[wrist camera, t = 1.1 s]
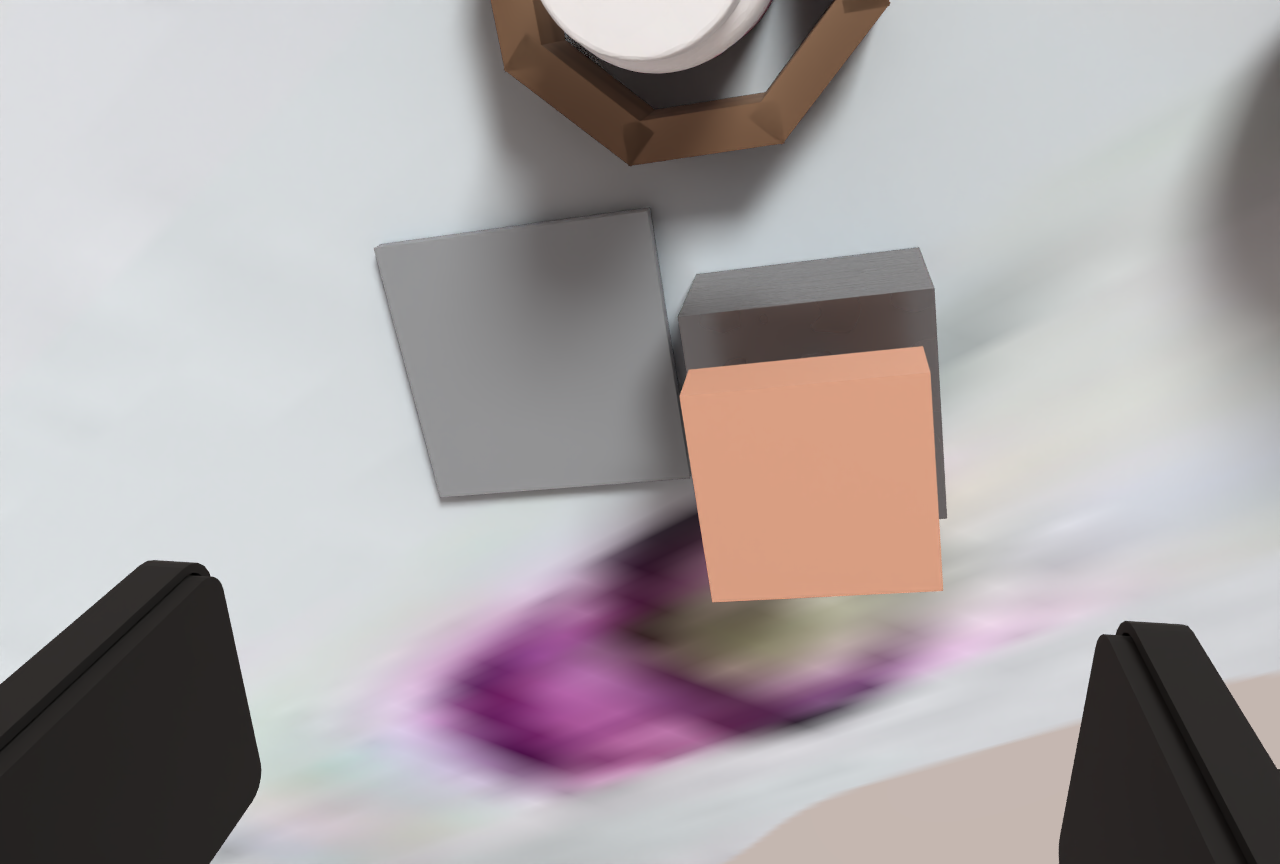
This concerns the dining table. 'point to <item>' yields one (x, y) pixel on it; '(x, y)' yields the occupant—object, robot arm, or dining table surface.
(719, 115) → the sleeve
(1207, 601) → the dining table surface
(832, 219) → the dining table surface
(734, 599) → the orange square block
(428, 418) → the mat
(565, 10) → the pill bottle
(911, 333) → the block
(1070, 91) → the dining table surface
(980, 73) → the dining table surface
